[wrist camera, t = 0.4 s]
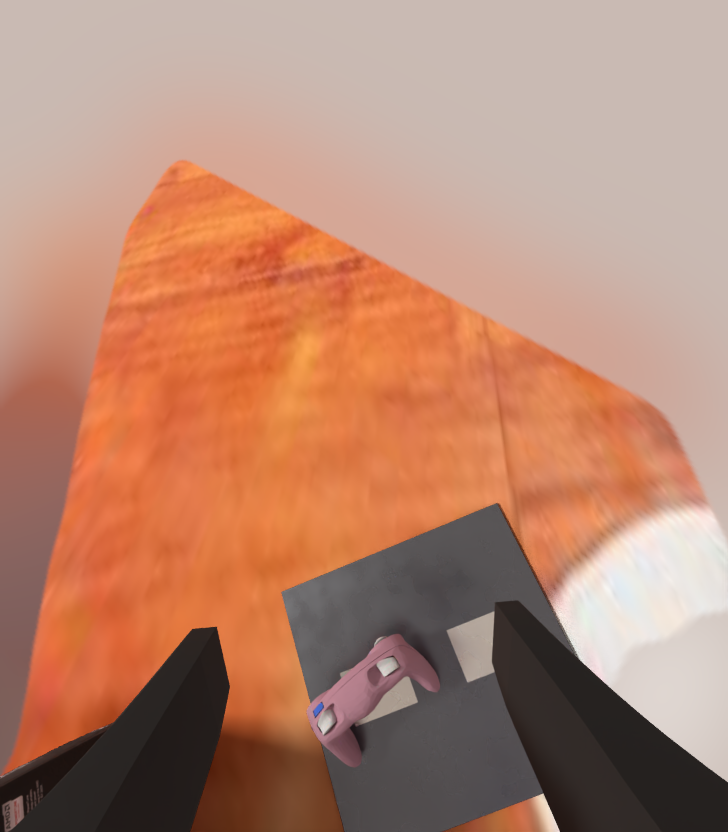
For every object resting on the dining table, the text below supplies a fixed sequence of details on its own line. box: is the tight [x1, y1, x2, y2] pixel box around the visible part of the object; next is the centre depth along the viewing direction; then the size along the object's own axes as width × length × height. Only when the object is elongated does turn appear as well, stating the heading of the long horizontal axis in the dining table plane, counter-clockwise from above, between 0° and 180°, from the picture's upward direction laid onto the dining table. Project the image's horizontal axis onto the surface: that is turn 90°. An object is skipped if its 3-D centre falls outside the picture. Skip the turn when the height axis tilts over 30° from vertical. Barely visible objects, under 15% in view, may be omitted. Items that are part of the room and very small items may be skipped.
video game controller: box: [307, 634, 440, 768], centre depth 30 cm, size 10×5×7 cm, turn 130°
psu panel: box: [281, 503, 574, 832], centre depth 32 cm, size 20×22×1 cm
